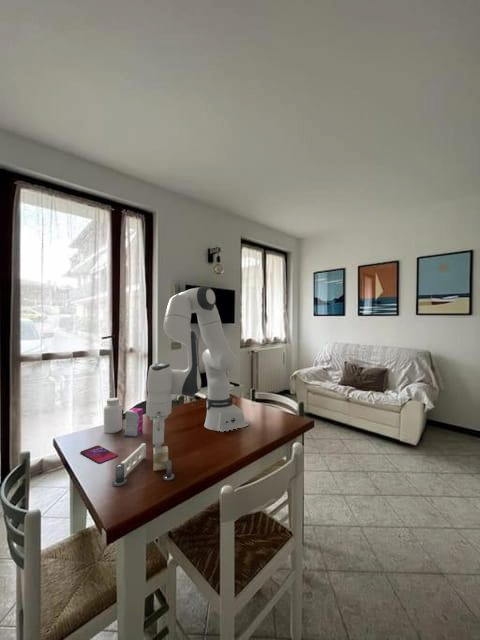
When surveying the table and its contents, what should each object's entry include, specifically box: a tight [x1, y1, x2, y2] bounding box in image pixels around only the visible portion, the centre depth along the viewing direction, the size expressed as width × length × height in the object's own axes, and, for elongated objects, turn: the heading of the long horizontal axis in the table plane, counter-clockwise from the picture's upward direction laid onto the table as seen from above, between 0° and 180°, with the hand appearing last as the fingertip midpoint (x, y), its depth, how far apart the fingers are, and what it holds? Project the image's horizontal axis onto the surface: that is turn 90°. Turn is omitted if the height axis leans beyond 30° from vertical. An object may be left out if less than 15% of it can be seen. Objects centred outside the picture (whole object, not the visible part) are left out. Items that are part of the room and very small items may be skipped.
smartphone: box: [79, 445, 119, 465], centre depth 110 cm, size 8×1×15 cm
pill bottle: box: [103, 397, 123, 434], centre depth 135 cm, size 8×8×15 cm
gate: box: [120, 442, 147, 478], centre depth 101 cm, size 15×1×5 cm, turn 172°
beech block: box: [152, 445, 169, 472], centre depth 102 cm, size 5×5×6 cm
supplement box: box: [124, 407, 144, 438], centre depth 130 cm, size 6×6×12 cm
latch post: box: [162, 459, 175, 482], centre depth 94 cm, size 4×4×6 cm
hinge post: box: [111, 463, 128, 487], centre depth 91 cm, size 4×4×6 cm
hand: (157, 446), depth 102 cm, fingers open, 8 cm apart
